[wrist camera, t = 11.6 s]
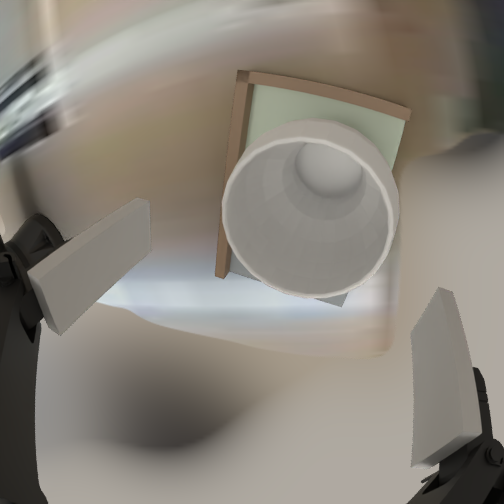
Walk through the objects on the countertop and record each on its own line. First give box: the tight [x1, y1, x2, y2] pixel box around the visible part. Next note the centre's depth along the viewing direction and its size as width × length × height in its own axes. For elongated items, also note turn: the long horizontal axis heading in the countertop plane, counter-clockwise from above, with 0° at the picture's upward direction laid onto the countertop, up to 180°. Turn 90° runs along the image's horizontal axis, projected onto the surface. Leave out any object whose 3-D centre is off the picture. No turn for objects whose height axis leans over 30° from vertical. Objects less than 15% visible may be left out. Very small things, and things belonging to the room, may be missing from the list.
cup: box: [222, 118, 400, 298], centre depth 22 cm, size 11×11×15 cm
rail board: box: [215, 70, 412, 307], centre depth 31 cm, size 16×24×3 cm, turn 172°
